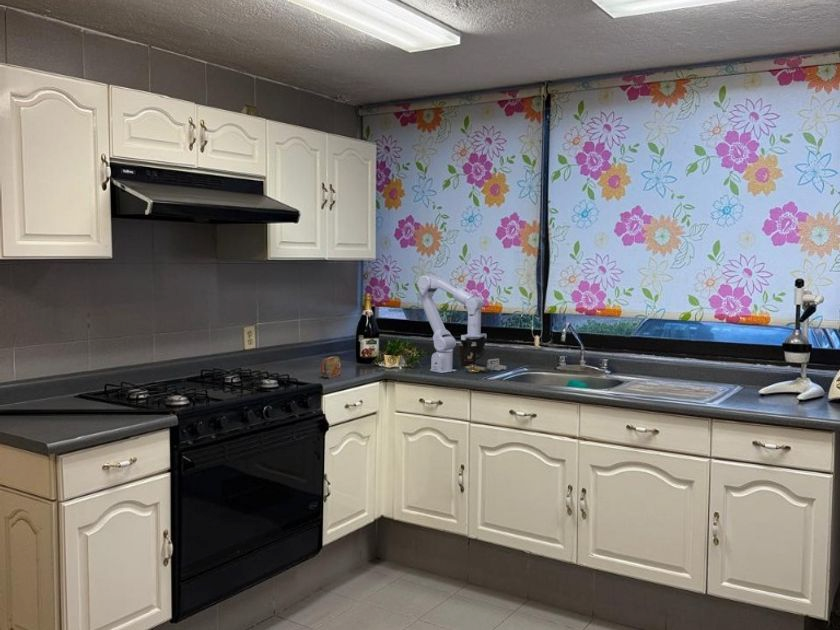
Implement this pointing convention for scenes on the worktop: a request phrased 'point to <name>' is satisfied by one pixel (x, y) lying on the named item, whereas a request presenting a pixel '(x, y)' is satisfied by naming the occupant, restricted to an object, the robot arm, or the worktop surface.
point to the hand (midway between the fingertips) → (473, 355)
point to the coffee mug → (468, 359)
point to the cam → (476, 368)
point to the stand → (495, 364)
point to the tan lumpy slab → (331, 367)
